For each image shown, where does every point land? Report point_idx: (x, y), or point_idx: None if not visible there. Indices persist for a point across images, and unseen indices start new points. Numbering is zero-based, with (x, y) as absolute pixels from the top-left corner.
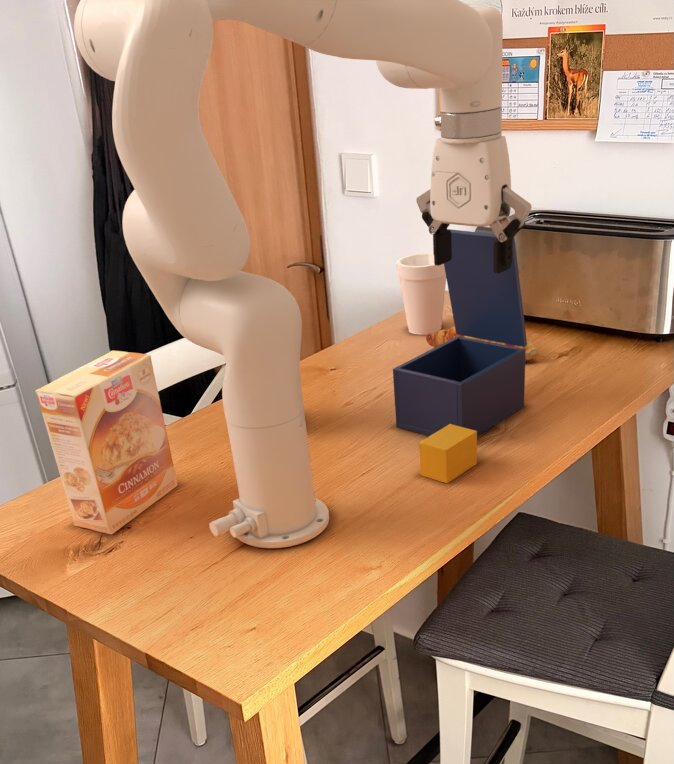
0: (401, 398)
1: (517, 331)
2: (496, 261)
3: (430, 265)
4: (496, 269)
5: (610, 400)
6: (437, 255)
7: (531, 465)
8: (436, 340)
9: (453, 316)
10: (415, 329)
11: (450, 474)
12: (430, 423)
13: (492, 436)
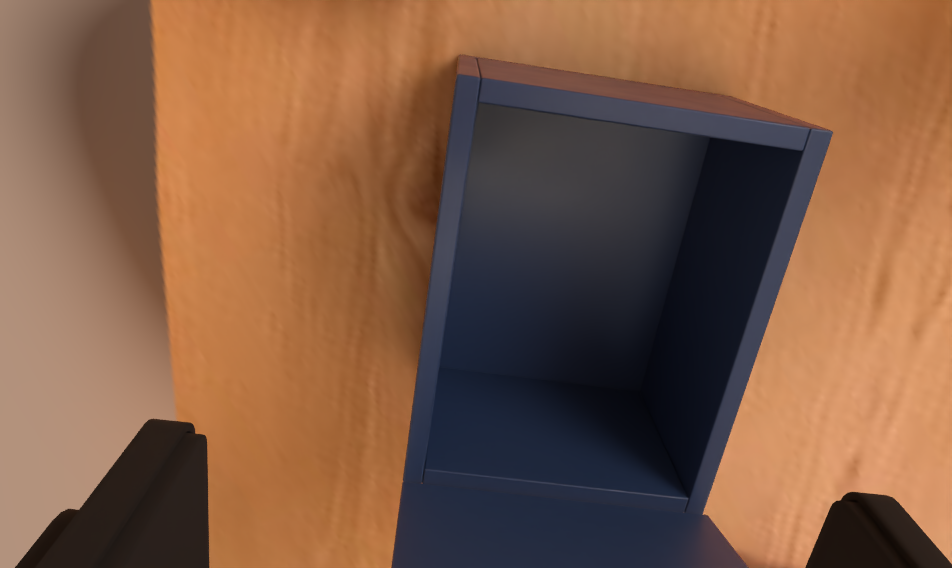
0: (743, 107)
1: (423, 514)
2: (110, 484)
3: None
4: (150, 433)
5: (227, 481)
6: (904, 559)
7: (190, 9)
8: None
9: (738, 557)
10: None
11: None
12: (595, 78)
13: (405, 155)
